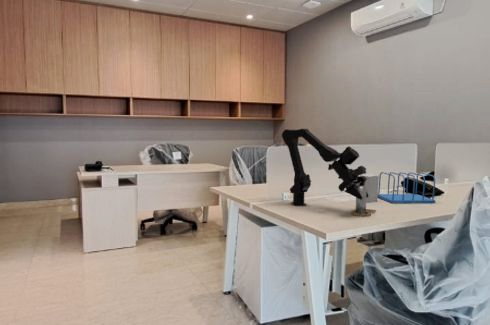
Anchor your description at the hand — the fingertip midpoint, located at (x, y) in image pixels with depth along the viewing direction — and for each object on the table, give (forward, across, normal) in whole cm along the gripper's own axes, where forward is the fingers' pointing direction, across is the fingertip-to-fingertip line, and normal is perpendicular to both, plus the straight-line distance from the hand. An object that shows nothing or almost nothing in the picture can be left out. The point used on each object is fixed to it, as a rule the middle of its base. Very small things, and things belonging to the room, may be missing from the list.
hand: (364, 198), depth 157 cm
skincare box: (-2, +32, +14) cm, 35 cm away
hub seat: (+5, 0, +7) cm, 8 cm away
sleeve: (+4, 0, +7) cm, 8 cm away
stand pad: (+4, +9, +8) cm, 12 cm away
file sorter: (+7, +53, +5) cm, 54 cm away
